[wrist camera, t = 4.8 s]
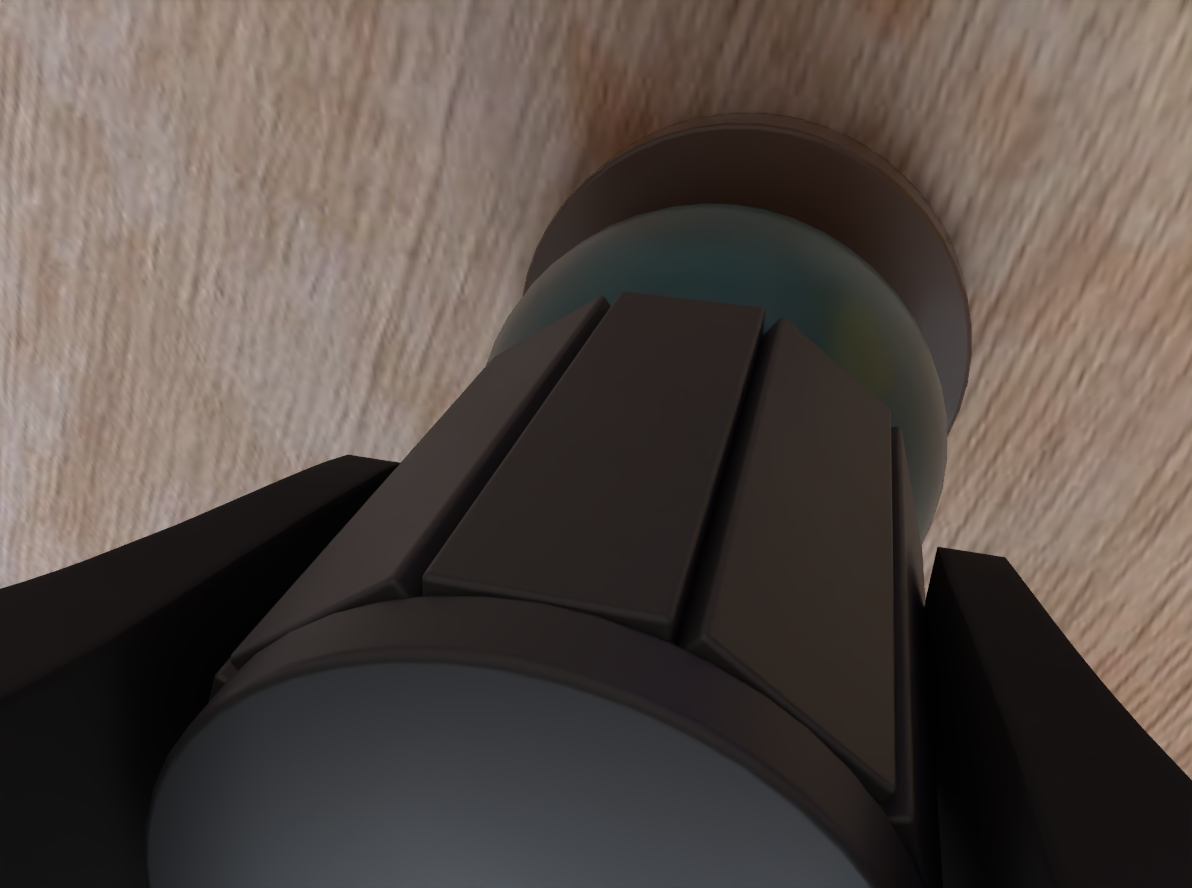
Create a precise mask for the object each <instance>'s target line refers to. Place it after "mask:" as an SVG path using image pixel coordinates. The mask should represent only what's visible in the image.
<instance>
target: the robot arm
mask: <svg viewBox="0 0 1192 888" xmlns="http://www.w3.org/2000/svg"><path fill="white" fill-rule="evenodd" d="M399 464H400V463H398V462H391V461H385V460H378V459H372V458H366V457H359V456H353V455H345V456H342V457H339V458H336V459H332V460H329V461H327V462H324V463H321V464H318V465H316V466H313V467H311V468H308V469H306V470H303V471H301V472H298V473H296V474H294V475H291V476H289V477H286V478H284V479H282V480H279V481H277V482H275V483H272V484H270V485H268V486H266V487H263V488H261V489H259V490H256V491H254V492H252V493H249V494H247V495H245V496H242V497H240V498H238V499H235V500H233V501H231V502H229V503H226V504H224V505H222V506H219V507H217V508H215V509H212V510H210V511H208V512H205V513H203V514H201V515H198V516H196V517H194V518H191V519H189V520H187V521H184V522H182V523H180V524H177V525H175V526H172V527H170V528H167V529H165V530H162V531H159V532H157V533H154V534H152V535H149V536H147V537H144V538H142V539H139V540H136V541H134V542H131V543H129V544H126V545H124V546H121V547H119V548H116V549H113V550H111V551H108V552H106V553H103V554H101V555H98V556H95V557H93V558H90V559H88V560H85V561H83V562H80V563H77V564H74V565H72V566H69V567H66V568H63V569H60V570H57V571H55V572H52V573H49V574H46V575H43V576H40V577H37V578H34V579H31V580H28V581H25V582H21V583H18V584H15V585H12V586H8V587H5V588H2V589H0V888H148V885H147V878H146V871H145V864H144V837H145V823H146V818H147V814H148V809H149V805H150V800H151V796H152V792H153V788H154V785H155V782H156V780H157V778H158V776H159V774H160V771H161V769H162V767H163V765H164V762H165V760H166V758H167V756H168V754H169V752H170V751H171V750H172V748H173V747H174V745H175V744H176V743H177V741H178V740H179V739H180V737H181V736H182V734H183V733H184V732H185V730H186V729H187V728H188V726H189V725H190V724H191V723H192V721H193V720H194V719H195V718H196V717H197V716H198V714H199V713H200V712H201V711H202V710H203V709H204V707H205V706H206V705H207V704H208V703H209V699H210V694H211V690H212V685H213V681H214V677H215V674H216V673H217V672H218V671H219V670H220V669H221V667H222V666H223V665H224V664H225V663H226V662H227V661H228V660H229V658H230V657H231V655H232V653H233V652H234V651H235V650H236V649H237V647H238V646H239V645H240V644H241V643H242V642H243V641H244V640H245V638H246V637H247V636H248V635H249V634H250V633H251V632H252V630H253V629H254V628H255V627H256V626H257V625H258V624H259V623H260V621H261V620H262V619H263V618H264V617H265V616H266V615H267V613H268V612H269V611H270V610H271V609H272V608H273V607H274V606H275V604H276V603H277V602H278V601H279V600H280V599H281V598H282V597H283V595H284V594H285V593H286V592H287V591H288V590H289V589H290V587H291V586H292V585H293V584H294V583H295V582H296V581H297V580H298V578H299V577H300V576H301V575H302V574H303V573H304V572H305V571H306V569H307V568H308V567H309V566H310V565H311V564H312V563H313V561H314V560H315V559H316V558H317V557H318V556H319V555H320V554H321V552H322V551H323V550H324V549H325V548H326V547H327V546H328V545H329V543H330V542H331V541H332V540H333V539H334V538H335V537H336V535H337V534H338V533H339V532H340V531H341V530H342V529H343V528H344V526H345V525H346V524H347V523H348V522H349V521H350V520H351V519H352V517H353V516H354V515H355V514H356V513H357V512H358V511H359V509H360V508H361V507H362V506H363V505H364V504H365V503H366V502H367V500H368V499H369V498H370V497H371V496H372V495H373V494H374V493H375V491H376V490H377V489H378V488H379V487H380V486H381V485H382V483H383V482H384V481H385V480H386V479H387V478H388V477H389V476H390V474H391V473H392V472H393V471H394V470H395V469H396V468H397V467H398V465H399ZM924 616H925V632H926V649H927V666H928V679H929V690H930V701H931V712H932V723H933V734H934V749H935V765H936V781H937V797H938V813H939V829H940V845H941V861H942V878H943V888H1192V780H1191V779H1190V778H1189V777H1188V776H1187V775H1186V774H1185V773H1184V772H1183V771H1182V770H1181V769H1180V767H1179V766H1178V765H1177V764H1176V763H1175V762H1174V761H1173V760H1172V759H1171V758H1170V757H1169V756H1168V755H1167V754H1166V753H1165V752H1164V751H1163V749H1162V748H1161V747H1160V746H1159V745H1158V744H1157V743H1156V742H1155V741H1154V740H1153V739H1152V738H1151V737H1150V736H1149V735H1148V734H1147V733H1146V731H1145V730H1144V729H1143V728H1142V727H1141V726H1140V725H1139V724H1138V723H1137V721H1136V720H1135V719H1134V718H1133V717H1132V716H1131V715H1130V713H1129V712H1128V711H1127V710H1126V709H1125V708H1124V707H1123V706H1122V704H1121V703H1120V702H1119V701H1118V700H1117V699H1116V698H1115V696H1114V695H1113V694H1112V693H1111V692H1110V690H1109V689H1108V688H1107V687H1106V686H1105V685H1104V683H1103V682H1102V681H1101V680H1100V679H1099V677H1098V676H1097V675H1096V674H1095V673H1094V671H1093V670H1092V669H1091V668H1090V666H1089V665H1088V664H1087V663H1086V662H1085V660H1084V659H1083V658H1082V657H1081V655H1080V654H1079V653H1078V652H1077V650H1076V649H1075V648H1074V647H1073V645H1072V644H1071V643H1070V642H1069V640H1068V639H1067V638H1066V636H1065V635H1064V634H1063V633H1062V631H1061V630H1060V629H1059V627H1058V626H1057V625H1056V623H1055V622H1054V621H1053V620H1052V618H1051V617H1050V616H1049V614H1048V613H1047V612H1046V610H1045V609H1044V608H1043V606H1042V605H1041V604H1040V602H1039V601H1038V600H1037V598H1036V597H1035V596H1034V594H1033V593H1032V592H1031V591H1030V589H1029V588H1028V587H1027V585H1026V584H1025V583H1024V581H1023V580H1022V579H1021V577H1020V576H1019V575H1018V573H1017V572H1016V571H1015V569H1014V568H1013V567H1012V565H1011V564H1010V563H1009V562H1008V560H1007V559H1006V558H1005V557H999V556H993V555H987V554H980V553H974V552H967V551H961V550H955V549H948V548H942V547H937V552H936V556H935V560H934V565H933V569H932V574H931V578H930V583H929V587H928V592H927V596H926V601H925V605H924Z"/></svg>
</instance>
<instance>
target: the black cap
mask: <svg viewBox="0 0 1192 888" xmlns="http://www.w3.org/2000/svg"><path fill="white" fill-rule="evenodd" d="M764 322H765V309H763V308H761V307H753V306H744V305H736V304H727V303H719V302H710V301H702V300H693V299H685V298H676V297H667V296H659V295H650V294H642V293H633V292H625V291H624V292H621V293H620V294H619V296H618V297H617V298H616V300H615V301H614V303H613V304H612V306H610V304H609V303H608V301H607V300H606V298H605V297H604V296H599V297H597V298H595V299H594V300H592V301H590V302H588V303H587V304H585V305H583V306H581V307H580V308H578V309H576V310H574V311H573V312H571V313H569V314H568V315H566V316H564V317H562V318H561V319H559V320H557V321H555V322H554V323H552V324H550V325H548V326H547V327H545V328H543V329H542V330H540V331H538V332H536V333H535V334H533V335H531V336H529V337H528V338H526V339H524V340H522V341H521V342H519V343H517V344H516V345H514V346H512V347H510V348H509V349H507V350H505V351H503V352H502V353H500V354H498V355H496V356H495V357H494V358H493V359H492V360H491V361H490V363H489V364H488V365H487V366H486V367H485V368H484V369H483V370H482V372H481V373H480V374H479V375H478V376H477V377H476V378H475V379H474V381H473V382H472V383H471V384H470V385H469V386H468V387H467V389H466V390H465V391H464V392H463V393H462V394H461V395H460V396H459V398H458V399H457V400H456V401H455V402H454V403H453V404H452V405H451V407H450V408H449V409H448V410H447V411H446V412H445V413H444V415H443V416H442V417H441V418H440V419H439V420H438V421H437V422H436V424H435V425H434V426H433V427H432V428H431V429H430V430H429V431H428V433H427V434H426V435H425V436H424V437H423V438H422V439H421V441H420V442H419V443H418V444H417V445H416V446H415V447H414V448H413V450H412V451H411V452H410V453H409V454H408V455H407V456H406V457H405V459H404V460H403V461H402V462H401V463H400V464H399V465H398V467H397V468H396V469H395V470H394V471H393V472H392V473H391V474H390V476H389V477H388V478H387V479H386V480H385V481H384V482H383V483H382V485H381V486H380V487H379V488H378V489H377V490H376V491H375V493H374V494H373V495H372V496H371V497H370V498H369V499H368V500H367V502H366V503H365V504H364V505H363V506H362V507H361V508H360V509H359V511H358V512H357V513H356V514H355V515H354V516H353V517H352V519H351V520H350V521H349V522H348V523H347V524H346V525H345V526H344V528H343V529H342V530H341V531H340V532H339V533H338V534H337V535H336V537H335V538H334V539H333V540H332V541H331V542H330V543H329V545H328V546H327V547H326V548H325V549H324V550H323V551H322V552H321V554H320V555H319V556H318V557H317V558H316V559H315V560H314V561H313V563H312V564H311V565H310V566H309V567H308V568H307V569H306V571H305V572H304V573H303V574H302V575H301V576H300V577H299V578H298V580H297V581H296V582H295V583H294V584H293V585H292V586H291V587H290V589H289V590H288V591H287V592H286V593H285V594H284V595H283V597H282V598H281V599H280V600H279V601H278V602H277V603H276V604H275V606H274V607H273V608H272V609H271V610H270V611H269V612H268V613H267V615H266V616H265V617H264V618H263V619H262V620H261V621H260V623H259V624H258V625H257V626H256V627H255V628H254V629H253V630H252V632H251V633H250V634H249V635H248V636H247V637H246V638H245V640H244V641H243V642H242V643H241V644H240V645H239V646H238V647H237V649H236V650H235V651H234V652H233V653H232V655H231V657H230V658H229V660H228V661H227V662H226V663H225V664H224V665H223V666H222V667H221V669H220V670H219V671H218V672H217V673H216V674H215V677H214V681H213V685H212V690H211V694H210V699H209V703H208V704H207V705H206V706H205V707H204V709H203V710H202V711H201V712H200V713H199V714H198V716H197V717H196V718H195V719H194V720H193V721H192V723H191V724H190V725H189V726H188V728H187V729H186V730H185V732H184V733H183V734H182V736H181V737H180V739H179V740H178V741H177V743H176V744H175V745H174V747H173V748H172V750H171V751H170V752H169V754H168V756H167V758H166V760H165V762H164V765H163V767H162V769H161V771H160V774H159V776H158V778H157V780H156V782H155V785H154V788H153V792H152V796H151V800H150V805H149V809H148V814H147V818H146V823H145V837H144V864H145V871H146V878H147V885H148V888H943V878H942V861H941V845H940V829H939V813H938V797H937V781H936V765H935V749H934V734H933V723H932V712H931V701H930V690H929V679H928V666H927V649H926V632H925V616H924V605H925V589H924V573H923V557H922V545H921V539H920V534H919V528H918V522H917V516H916V510H915V504H914V499H913V493H912V487H911V481H910V475H909V469H908V464H907V458H906V452H905V446H904V440H903V434H902V430H901V429H900V427H891V412H890V409H889V408H888V407H887V406H886V405H884V404H883V403H882V402H881V401H880V400H879V399H878V398H876V397H875V396H874V395H873V394H872V393H871V392H870V391H868V390H867V389H866V388H865V387H864V386H863V385H862V384H860V383H859V382H858V381H857V380H856V379H855V378H854V377H852V376H851V375H850V374H849V373H848V372H847V371H846V370H845V369H843V368H842V367H841V366H840V365H839V364H838V363H837V362H835V361H834V360H833V359H832V358H831V357H830V356H829V355H827V354H826V353H825V352H824V351H823V350H822V349H821V348H819V347H818V346H817V345H816V344H815V343H814V342H813V341H811V340H810V339H809V338H808V337H807V336H806V335H805V334H803V333H802V332H801V331H800V330H799V329H798V328H797V327H795V326H794V325H793V324H792V323H791V322H790V321H789V320H788V319H786V318H784V317H782V318H780V319H779V320H778V321H777V322H776V323H775V324H774V325H773V326H772V327H771V328H770V329H769V330H768V331H767V332H766V333H765V334H764V335H763V330H764Z"/></svg>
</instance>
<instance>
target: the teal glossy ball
mask: <svg viewBox="0 0 1192 888" xmlns="http://www.w3.org/2000/svg"><path fill="white" fill-rule="evenodd" d="M624 291H625V292H633V293H642V294H650V295H659V296H667V297H676V298H685V299H693V300H702V301H710V302H719V303H727V304H736V305H744V306H753V307H761V308H763V309H765V322H764V330H763V335H764V334H765V333H766V332H767V331H768V330H769V329H770V328H771V327H772V326H773V325H774V324H775V323H776V322H777V321H778V320H779V319H780V318H782V317H784V318H786V319H788V320H789V321H790V322H791V323H792V324H793V325H794V326H795V327H797V328H798V329H799V330H800V331H801V332H802V333H803V334H805V335H806V336H807V337H808V338H809V339H810V340H811V341H813V342H814V343H815V344H816V345H817V346H818V347H819V348H821V349H822V350H823V351H824V352H825V353H826V354H827V355H829V356H830V357H831V358H832V359H833V360H834V361H835V362H837V363H838V364H839V365H840V366H841V367H842V368H843V369H845V370H846V371H847V372H848V373H849V374H850V375H851V376H852V377H854V378H855V379H856V380H857V381H858V382H859V383H860V384H862V385H863V386H864V387H865V388H866V389H867V390H868V391H870V392H871V393H872V394H873V395H874V396H875V397H876V398H878V399H879V400H880V401H881V402H882V403H883V404H884V405H886V406H887V407H888V408H889V409H890V412H891V427H900V429H901V430H902V434H903V440H904V446H905V452H906V458H907V464H908V469H909V475H910V481H911V487H912V493H913V499H914V504H915V510H916V516H917V522H918V528H919V534H920V539H921V545H922V544H923V542H924V540H925V537H926V535H927V533H928V531H929V529H930V526H931V523H932V521H933V518H934V515H935V512H936V508H937V505H938V502H939V498H940V495H941V492H942V488H943V482H944V474H945V467H946V460H947V436H948V434H949V432H950V430H951V428H952V426H953V424H954V421H955V419H956V417H957V415H958V413H959V410H960V407H961V404H962V400H963V397H964V394H965V390H966V387H967V383H968V376H969V369H970V363H971V356H972V331H971V319H970V313H969V306H968V300H967V294H966V289H965V285H964V280H963V277H962V273H961V270H960V267H959V264H958V261H957V257H956V254H955V251H954V249H953V247H952V244H951V242H950V240H949V238H948V236H947V234H946V232H945V230H944V228H943V226H942V224H941V222H940V221H939V219H938V218H937V216H936V215H935V213H934V212H933V210H932V209H931V207H930V206H929V204H928V203H927V201H926V200H925V198H924V197H923V196H922V195H921V194H920V193H919V192H918V191H917V189H916V188H915V187H914V186H913V185H912V184H911V183H910V182H909V181H908V179H907V178H906V177H905V176H904V175H903V174H901V173H900V172H899V171H898V170H897V169H895V168H894V167H893V166H892V165H891V164H889V163H888V162H887V161H886V160H885V159H883V158H882V157H881V156H880V155H878V154H876V153H875V152H873V151H872V150H870V149H868V148H867V147H865V146H864V145H862V144H860V143H859V142H857V141H856V140H854V139H852V138H849V137H847V136H845V135H843V134H840V133H838V132H836V131H834V130H831V129H829V128H827V127H824V126H821V125H817V124H814V123H810V122H807V121H804V120H800V119H797V118H791V117H784V116H778V115H771V114H761V113H731V114H722V115H714V116H706V117H701V118H697V119H693V120H689V121H686V122H682V123H678V124H674V125H672V126H669V127H667V128H665V129H662V130H660V131H657V132H655V133H652V134H650V135H648V136H646V137H644V138H642V139H641V140H639V141H637V142H635V143H634V144H632V145H630V146H629V147H627V148H625V149H623V150H622V151H620V152H619V153H618V154H617V155H615V156H614V157H613V158H612V159H610V160H609V161H608V162H606V163H605V164H604V165H603V166H601V167H600V168H599V169H598V170H597V171H595V172H594V173H593V174H592V175H591V176H590V177H589V178H588V179H586V180H585V181H584V182H583V183H582V185H581V186H580V187H579V188H578V189H577V190H576V191H575V192H574V193H573V194H572V195H571V196H570V197H569V198H568V199H567V200H566V201H565V203H564V204H563V206H562V207H561V208H560V210H559V211H558V212H557V214H556V215H555V217H554V218H553V219H552V221H551V222H550V224H549V225H548V227H547V229H546V231H545V233H544V235H543V237H542V239H541V241H540V242H539V244H538V246H537V248H536V251H535V254H534V256H533V259H532V262H531V265H530V267H529V270H528V273H527V277H526V282H525V286H524V291H523V296H522V298H521V300H520V301H519V302H518V304H517V305H516V306H515V308H514V309H513V311H512V312H511V314H510V315H509V316H508V318H507V320H506V322H505V323H504V325H503V327H502V329H501V331H500V333H499V335H498V337H497V338H496V340H495V342H494V345H493V348H492V351H491V353H490V356H489V359H488V362H487V365H488V364H489V363H490V361H491V360H492V359H493V358H494V357H495V356H496V355H498V354H500V353H502V352H503V351H505V350H507V349H509V348H510V347H512V346H514V345H516V344H517V343H519V342H521V341H522V340H524V339H526V338H528V337H529V336H531V335H533V334H535V333H536V332H538V331H540V330H542V329H543V328H545V327H547V326H548V325H550V324H552V323H554V322H555V321H557V320H559V319H561V318H562V317H564V316H566V315H568V314H569V313H571V312H573V311H574V310H576V309H578V308H580V307H581V306H583V305H585V304H587V303H588V302H590V301H592V300H594V299H595V298H597V297H599V296H604V297H605V298H606V300H607V301H608V303H609V304H610V306H612V304H613V303H614V301H615V300H616V298H617V297H618V296H619V294H620V293H621V292H624ZM487 365H486V366H487Z"/></svg>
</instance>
